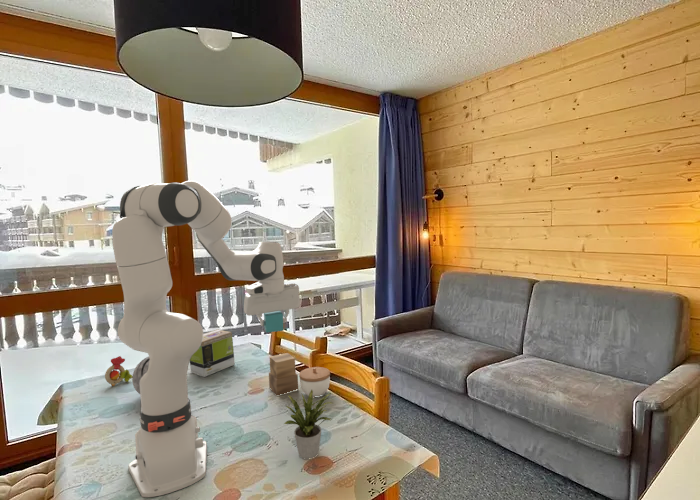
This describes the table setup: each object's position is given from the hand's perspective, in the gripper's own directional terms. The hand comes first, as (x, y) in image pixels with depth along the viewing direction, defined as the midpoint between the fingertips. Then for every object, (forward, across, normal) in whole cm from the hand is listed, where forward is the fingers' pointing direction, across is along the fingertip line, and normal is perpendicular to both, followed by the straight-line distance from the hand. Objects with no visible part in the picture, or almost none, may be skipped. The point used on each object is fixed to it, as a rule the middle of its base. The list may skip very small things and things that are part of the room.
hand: (273, 323), depth 141 cm
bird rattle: (+24, +50, -40) cm, 68 cm away
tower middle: (+18, -2, +2) cm, 18 cm away
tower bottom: (+24, -2, +2) cm, 24 cm away
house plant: (+24, +7, +44) cm, 51 cm away
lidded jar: (+24, -10, +13) cm, 29 cm away
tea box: (+24, +16, -34) cm, 44 cm away
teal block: (+2, 0, 0) cm, 2 cm away
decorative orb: (+24, +38, -19) cm, 49 cm away
